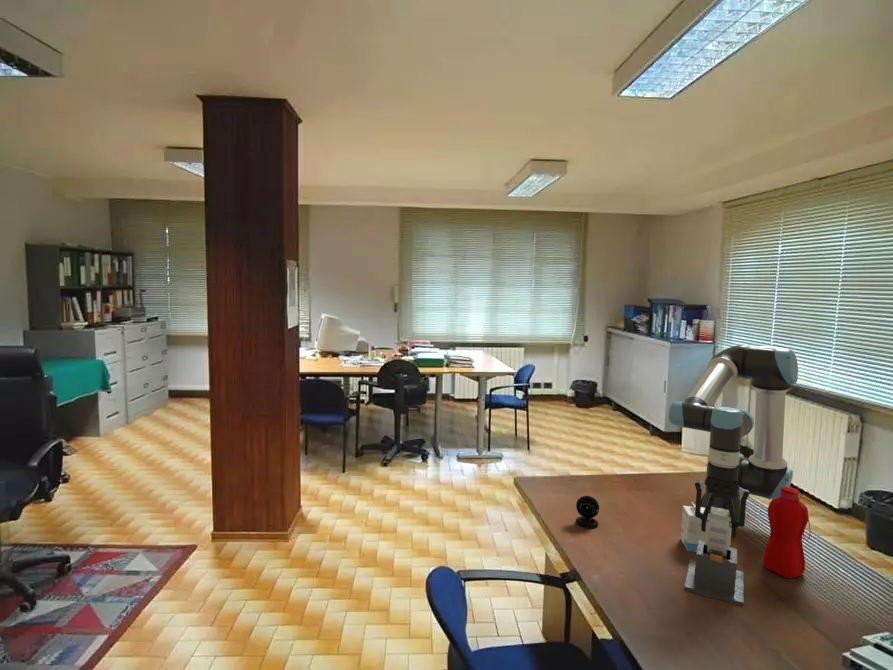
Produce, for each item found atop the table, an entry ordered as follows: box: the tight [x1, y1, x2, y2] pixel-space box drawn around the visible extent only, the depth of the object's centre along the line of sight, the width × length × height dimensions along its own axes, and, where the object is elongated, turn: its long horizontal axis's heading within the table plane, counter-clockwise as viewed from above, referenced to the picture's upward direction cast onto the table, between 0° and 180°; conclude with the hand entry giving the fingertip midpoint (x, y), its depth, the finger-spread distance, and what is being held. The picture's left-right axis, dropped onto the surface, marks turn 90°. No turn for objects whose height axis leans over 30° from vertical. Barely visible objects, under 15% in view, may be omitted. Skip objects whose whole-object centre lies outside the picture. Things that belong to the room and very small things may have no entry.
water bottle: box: [762, 486, 812, 579], centre depth 153 cm, size 9×11×25 cm
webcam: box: [575, 495, 600, 529], centre depth 183 cm, size 8×8×10 cm
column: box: [707, 507, 731, 559], centre depth 146 cm, size 6×6×19 cm
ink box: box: [680, 501, 709, 553], centre depth 168 cm, size 9×8×13 cm
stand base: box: [683, 540, 745, 607], centre depth 147 cm, size 18×14×10 cm
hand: (717, 545), depth 146 cm, fingers closed on column, 5 cm apart
